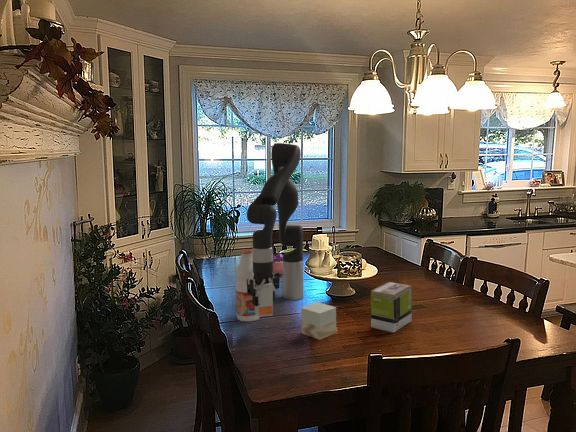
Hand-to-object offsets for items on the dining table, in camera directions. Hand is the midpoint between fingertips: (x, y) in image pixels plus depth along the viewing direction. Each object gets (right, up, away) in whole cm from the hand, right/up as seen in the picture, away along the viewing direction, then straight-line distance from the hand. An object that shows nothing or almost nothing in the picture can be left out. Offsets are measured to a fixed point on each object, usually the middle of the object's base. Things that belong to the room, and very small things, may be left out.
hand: (263, 303), depth 177 cm
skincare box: (0, -5, +1) cm, 5 cm away
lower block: (+20, -11, +1) cm, 23 cm away
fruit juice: (-7, -9, +18) cm, 21 cm away
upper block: (+20, -6, 0) cm, 21 cm away
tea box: (+49, -10, +8) cm, 50 cm away
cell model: (+1, 0, +85) cm, 85 cm away
